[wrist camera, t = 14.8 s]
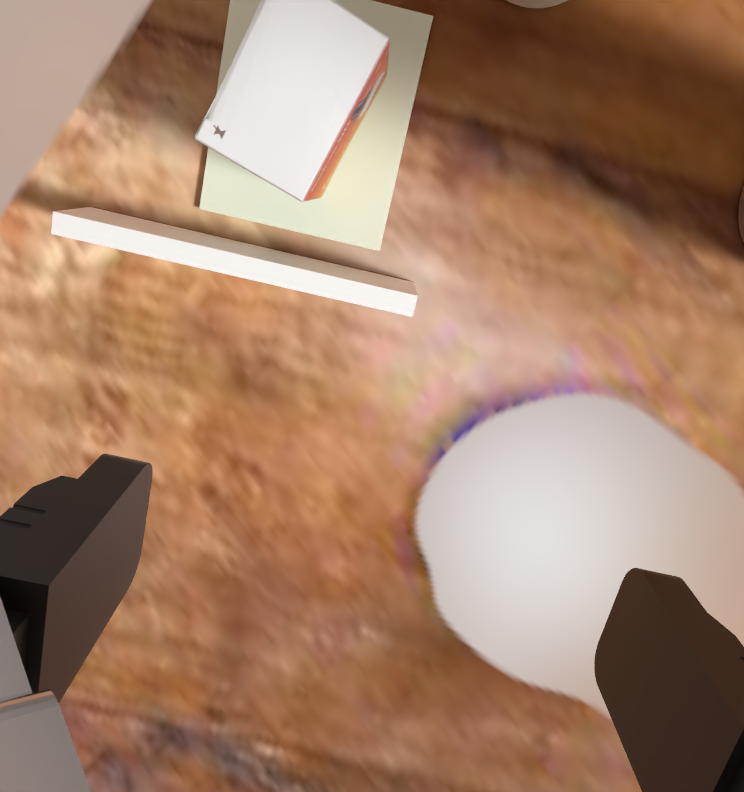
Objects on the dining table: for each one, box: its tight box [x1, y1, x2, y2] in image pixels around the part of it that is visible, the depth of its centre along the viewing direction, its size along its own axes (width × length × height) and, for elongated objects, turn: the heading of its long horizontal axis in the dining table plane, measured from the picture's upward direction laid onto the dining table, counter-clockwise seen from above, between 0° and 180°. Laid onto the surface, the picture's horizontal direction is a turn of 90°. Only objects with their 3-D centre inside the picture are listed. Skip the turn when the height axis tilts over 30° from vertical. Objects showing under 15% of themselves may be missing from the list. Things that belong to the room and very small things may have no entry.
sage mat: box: [199, 0, 433, 251], centre depth 40 cm, size 11×13×1 cm
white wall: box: [51, 207, 418, 317], centre depth 40 cm, size 20×1×5 cm, turn 77°
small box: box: [195, 0, 390, 202], centre depth 35 cm, size 8×6×10 cm
